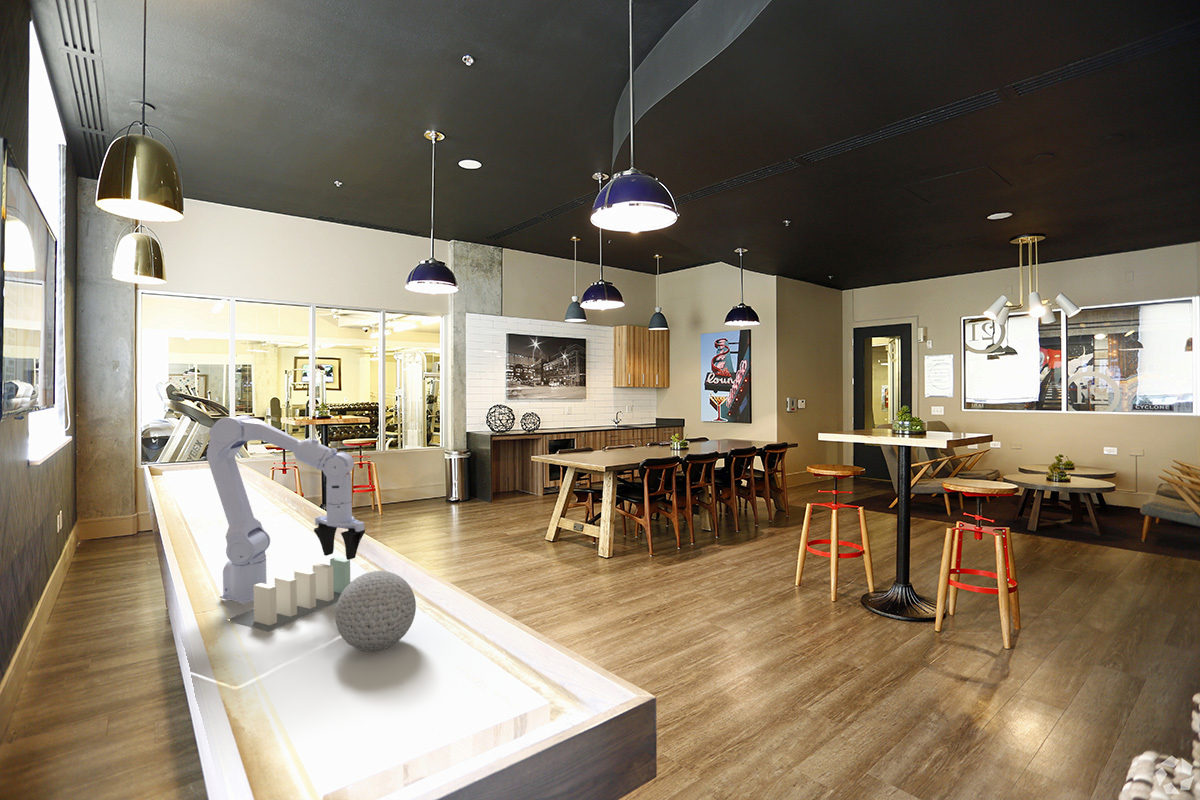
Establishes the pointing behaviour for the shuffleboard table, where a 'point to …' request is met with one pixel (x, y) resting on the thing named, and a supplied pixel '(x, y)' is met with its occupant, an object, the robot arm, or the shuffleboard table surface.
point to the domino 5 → (340, 573)
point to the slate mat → (248, 616)
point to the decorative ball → (375, 610)
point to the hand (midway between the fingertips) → (339, 556)
